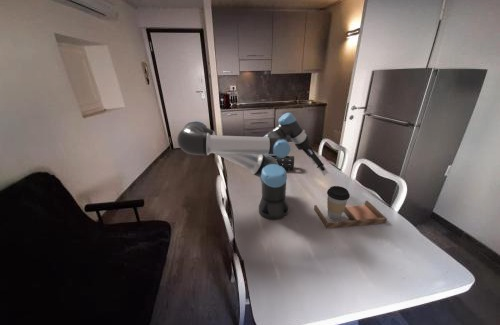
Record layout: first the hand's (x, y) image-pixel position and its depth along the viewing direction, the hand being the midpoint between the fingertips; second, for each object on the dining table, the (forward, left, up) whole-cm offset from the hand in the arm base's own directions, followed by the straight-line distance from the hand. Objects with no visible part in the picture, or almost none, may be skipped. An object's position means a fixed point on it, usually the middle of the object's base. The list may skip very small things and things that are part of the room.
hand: (320, 168), depth 109 cm
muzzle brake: (-19, +35, -16) cm, 43 cm away
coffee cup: (-1, -22, -15) cm, 27 cm away
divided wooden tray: (+6, -22, -15) cm, 28 cm away
